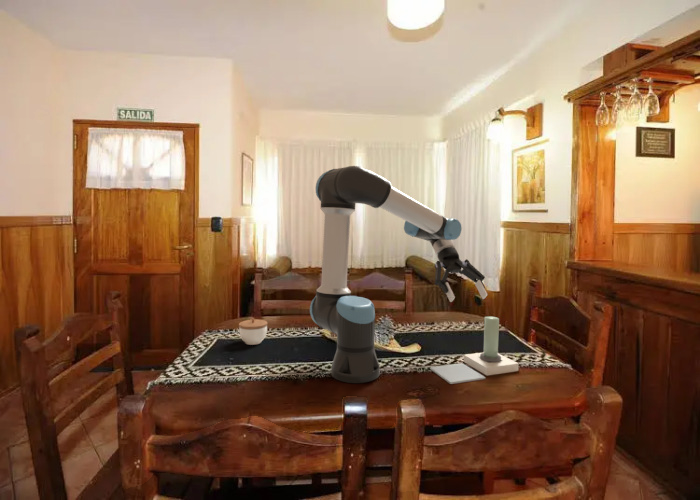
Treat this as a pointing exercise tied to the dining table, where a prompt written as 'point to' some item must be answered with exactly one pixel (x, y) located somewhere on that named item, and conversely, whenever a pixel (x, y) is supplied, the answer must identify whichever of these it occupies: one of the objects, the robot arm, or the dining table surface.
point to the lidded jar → (253, 331)
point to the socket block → (491, 364)
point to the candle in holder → (491, 340)
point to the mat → (457, 373)
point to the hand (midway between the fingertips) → (469, 298)
